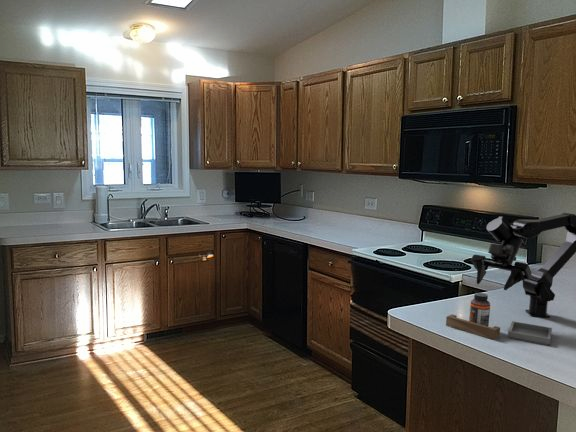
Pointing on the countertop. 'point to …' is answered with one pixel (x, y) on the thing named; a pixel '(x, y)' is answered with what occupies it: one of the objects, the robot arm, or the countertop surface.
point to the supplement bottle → (480, 309)
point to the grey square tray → (530, 333)
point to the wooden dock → (473, 327)
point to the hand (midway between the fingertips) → (490, 286)
